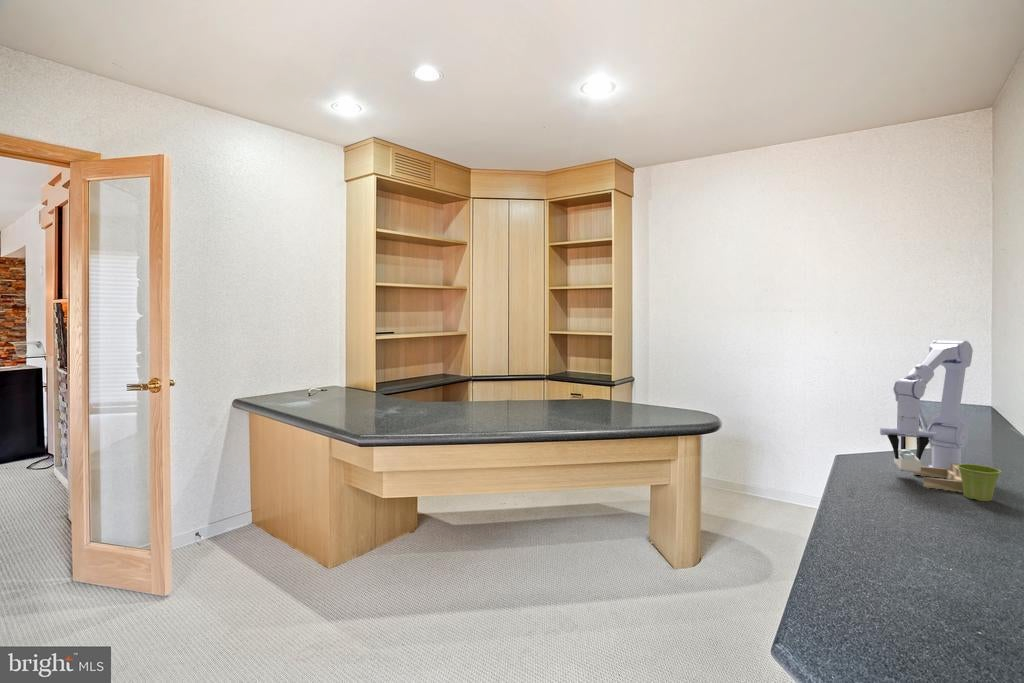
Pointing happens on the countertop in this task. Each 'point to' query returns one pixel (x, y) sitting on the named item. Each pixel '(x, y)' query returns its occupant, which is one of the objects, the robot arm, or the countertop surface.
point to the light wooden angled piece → (951, 474)
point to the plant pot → (978, 481)
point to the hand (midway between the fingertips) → (907, 459)
